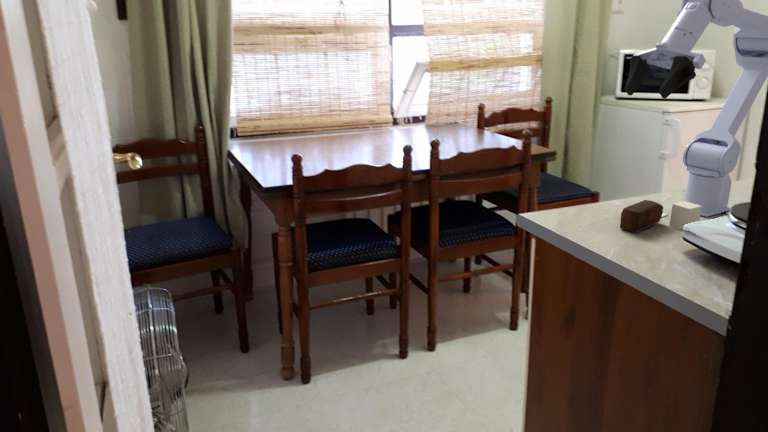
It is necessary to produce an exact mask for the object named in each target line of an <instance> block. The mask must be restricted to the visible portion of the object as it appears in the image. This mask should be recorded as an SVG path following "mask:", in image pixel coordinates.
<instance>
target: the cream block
mask: <svg viewBox="0 0 768 432" xmlns="http://www.w3.org/2000/svg"><path fill="white" fill-rule="evenodd" d="M701 208H702V206H700V205H697V204H693V203H690V202H686V201H685V200H684V201H679V202H675V203H672V205H671V213H670V219H669V225H668V226H669V227H672V228H675V229H678V230H679V231H680V230H681V231H684V230H683V226H684V225H685V224H688V223H691V222H695V221H699V222H700V220H701V215H700V214H701Z"/></svg>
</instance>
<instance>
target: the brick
mask: <svg viewBox="0 0 768 432" xmlns="http://www.w3.org/2000/svg"><path fill="white" fill-rule="evenodd" d="M663 210H664V206H663V205H662V204H660V203H658V202H656V201H653V200H649V199H644V200H642V201H639V202H636V203H635V204H631V205H628V206H626V207H623V208H622V211H621V213H620V224H619V228H620V229H621V230H624V231H627V232H631V233H638V232H639V231H642V230H645V229H647V228H649V227H652V226H653V225H655V224H657V223H659V222H661V216H662V213H664V211H663Z"/></svg>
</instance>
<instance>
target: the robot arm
mask: <svg viewBox="0 0 768 432" xmlns="http://www.w3.org/2000/svg"><path fill="white" fill-rule="evenodd" d="M743 6H744V5H743V3H742V1H741V0H682V1H681V6H680V7H679V9H678V11H677V15H676V18H675V20H674V22H673V23H672V25H671V26H670V28H669V29H668V30H667V33H665V35H664V37H663V38H662V39H661V41H660V42H656V44H655V47H653V48H650V49H647V50H646V49H645V50H643V51H641V52H639V51H638V52H635V53H634V54H633V55H632V56H631V57H630V60H629V61H630V62H629V65H630V66H629V73H628V77H627V80H626V83H625V87H624V91H625V92H626V94H627V96H633V95H634V94H635V92H636V91H637V90H638V88H639V87H640V86H641V85H642V83H644V81H646V80H647V79H648V78H649V77H650V76H652V75H653V74H654V73H653V71H652V70H651V68H650V65H652V66H656V67H660V68H663V69H667V70H669V72H668V74H667V75H666V77H665V79H664V80H663V82H662V83H661V86H660V87H659V90H658V93H659V94H660V96H661V98H662V99H664V100H665V99H667V98H668V97H669V96H670V95H672V93H674V91H676V90H678V88H679V87H680V88H681V86H682V85H685V84H686V83H687V82H690V81H691V80H694V79H695V77H696V76H697V74H696V69H699V70H702V68H703V67H704V65H705V63H706V62H707V59H706V58H705V56H704V54H703V53H697V52H692V50H693V48H694V47H695V46H696V44H697V42H699V40H700V38H701V37H702V35H703V33H704V32H705V31H706V28H707V27H708V26H709V24H714V25H716V26H719V27H723V28H724V27H725V28H726V27H730V26H734V27H735V29H734V32H733V37H732V45H733V49H734V55H735V61H736V64H737V65H738V66H740V67H741V68H742V71H741V73H740V75H739V77H738V79H737V80H736V82H735V84H734V86H733V87H732V89H731V92H730V93H729V95H728V96H727V99H726V100H725V102H724V104H723V106H722V107H721V108H720V111H719V112H718V114H717V116H716V118H715V119H714V121H713V124H712V125H711V127H710V128H708V129H705V130H702V131H700V132H698V133H696V134H695V136H694V138H693V139H692V140H691V141H690V142H688V144H687V145H686V147H684V150H683V153H682V162H683V164H684V166H685V167H686V172H689V173H688V178H687V183H686V191H685V196H684V201H686V202H690V203H693V204H697V205H700V206H702V208H701V214H700V216H703V217H705V218H706V217H707V218H708V217H710V216H711V217H712V216H715V215H719V214H722V213H724V212H723V211H726V212H729V211H730V210H729V209H731V210H732V208H731V207H728V204H729V199H730V194H731V190H732V179H731V177H730V174H731V173H732V172H733V171H734V169H735V168H736V166H737V164H738V158H739V157H740V154H741V152H742V147H741V144H740V141H738V139H737V138H736V137H735V136H736V135H737V132H738V131H739V129H740V128H741V126H742V124H743V122H744V120H745V118H746V116H747V115H748V113H749V111H750V109H751V108H752V105H753V104H754V102H755V100H756V99H757V97H758V95H759V93H760V91H761V89H762V88H763V85H764V84H765V83H766V80H767V78H768V15H766V14H762V13H759V12H756V11H753V10H750V9H746V8H744V7H743ZM728 210H729V211H728ZM721 212H722V213H721Z"/></svg>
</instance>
